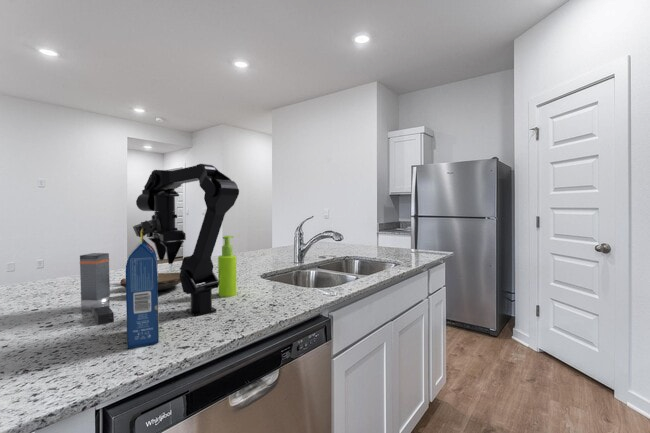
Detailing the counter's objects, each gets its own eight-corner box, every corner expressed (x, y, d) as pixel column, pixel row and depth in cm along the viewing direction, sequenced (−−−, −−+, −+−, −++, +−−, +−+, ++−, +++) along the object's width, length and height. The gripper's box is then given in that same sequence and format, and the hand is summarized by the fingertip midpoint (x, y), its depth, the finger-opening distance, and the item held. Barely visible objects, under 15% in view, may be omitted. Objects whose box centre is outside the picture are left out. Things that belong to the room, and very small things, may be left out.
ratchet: (121, 320, 88) (121, 299, 88) (89, 326, 84) (89, 305, 83) (107, 302, 104) (107, 285, 104) (79, 307, 99) (79, 289, 99)
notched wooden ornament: (116, 303, 104) (116, 279, 104) (123, 283, 130) (122, 263, 130) (193, 294, 114) (192, 272, 114) (184, 277, 141) (184, 259, 141)
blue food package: (159, 325, 84) (157, 227, 83) (159, 343, 74) (157, 230, 73) (130, 330, 81) (127, 228, 80) (126, 349, 71) (123, 232, 70)
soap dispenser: (240, 291, 117) (239, 235, 116) (232, 297, 110) (232, 237, 109) (224, 291, 118) (223, 235, 117) (215, 296, 111) (214, 236, 110)
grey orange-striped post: (110, 295, 101) (109, 253, 101) (96, 300, 96) (95, 255, 96) (94, 295, 102) (93, 253, 101) (80, 300, 97) (79, 255, 96)
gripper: (128, 211, 104) (129, 261, 104) (143, 212, 90) (144, 269, 91) (166, 210, 111) (166, 257, 112) (185, 211, 97) (186, 264, 98)
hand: (165, 261), depth 103 cm, fingers open, 9 cm apart
